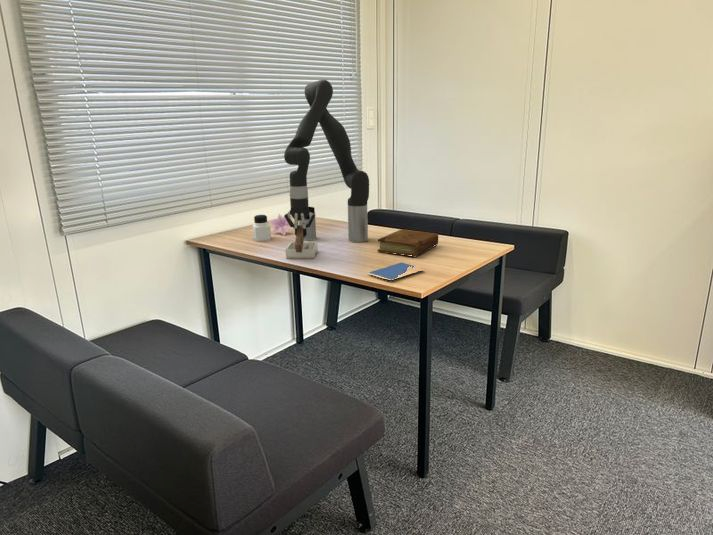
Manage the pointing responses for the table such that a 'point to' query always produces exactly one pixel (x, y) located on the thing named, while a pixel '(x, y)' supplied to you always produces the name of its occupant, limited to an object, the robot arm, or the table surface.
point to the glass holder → (312, 229)
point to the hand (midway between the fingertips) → (301, 236)
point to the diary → (408, 242)
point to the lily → (280, 224)
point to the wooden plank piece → (299, 239)
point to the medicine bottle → (261, 228)
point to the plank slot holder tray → (307, 251)
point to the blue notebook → (392, 271)
